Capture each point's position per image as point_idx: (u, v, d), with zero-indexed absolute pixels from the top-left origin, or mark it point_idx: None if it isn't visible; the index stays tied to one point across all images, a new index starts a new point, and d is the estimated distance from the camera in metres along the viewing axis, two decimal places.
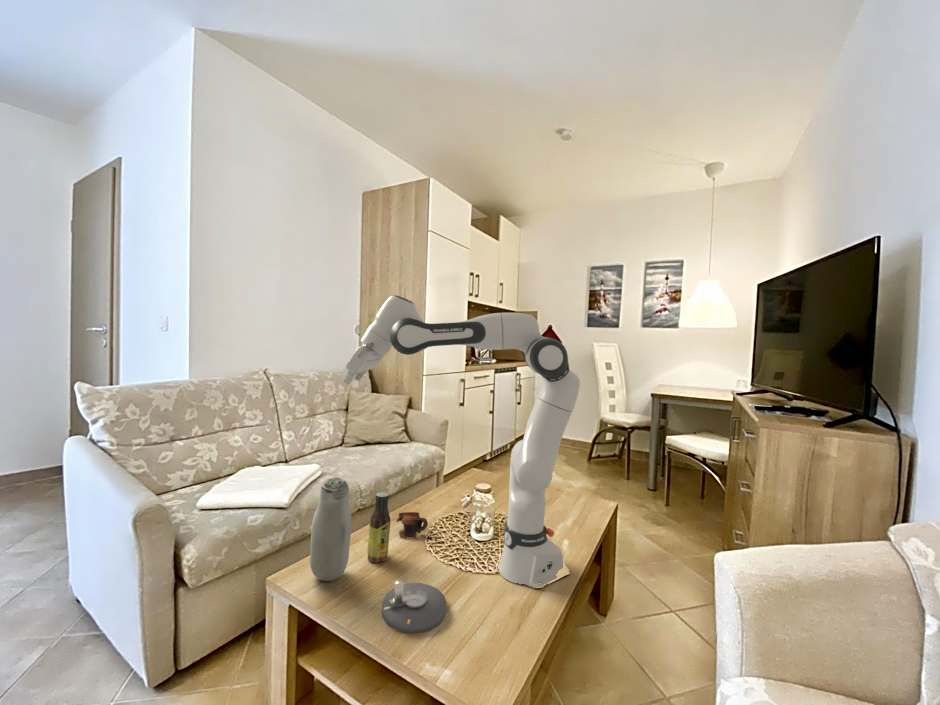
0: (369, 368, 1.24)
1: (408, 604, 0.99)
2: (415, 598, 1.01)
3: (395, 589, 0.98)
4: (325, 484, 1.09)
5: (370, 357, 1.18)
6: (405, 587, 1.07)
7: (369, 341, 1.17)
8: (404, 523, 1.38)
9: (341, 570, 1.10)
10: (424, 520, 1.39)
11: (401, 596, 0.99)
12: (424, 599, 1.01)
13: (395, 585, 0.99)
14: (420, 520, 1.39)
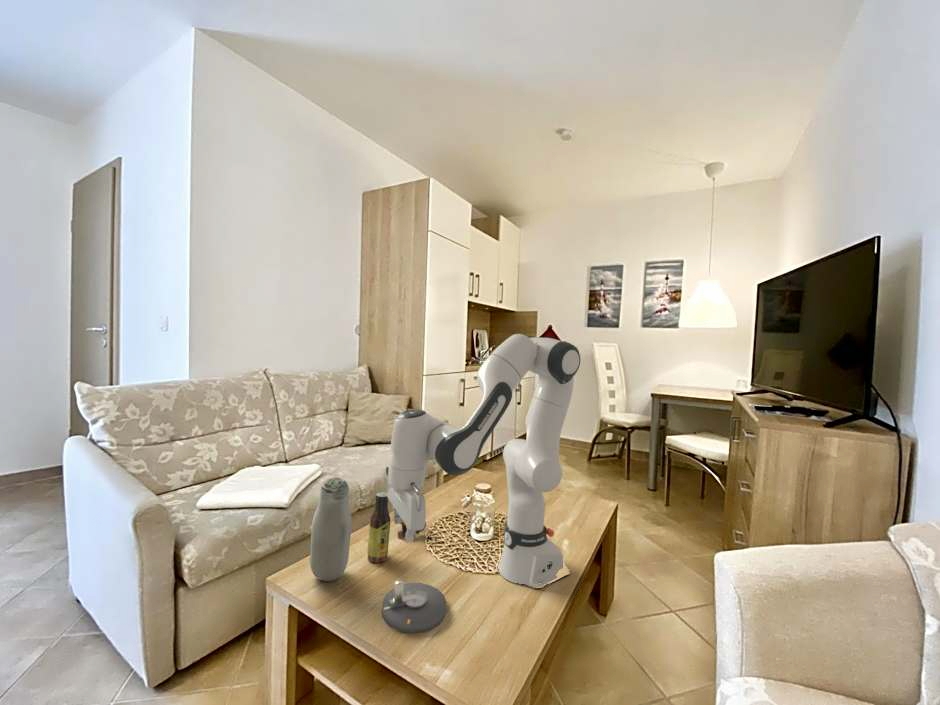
0: None
1: (408, 604, 0.99)
2: (415, 598, 1.01)
3: (395, 589, 0.98)
4: (325, 484, 1.09)
5: None
6: (405, 587, 1.07)
7: (408, 483, 0.94)
8: (402, 524, 1.37)
9: (341, 570, 1.10)
10: None
11: (401, 596, 0.99)
12: (424, 599, 1.01)
13: (395, 585, 0.99)
14: None
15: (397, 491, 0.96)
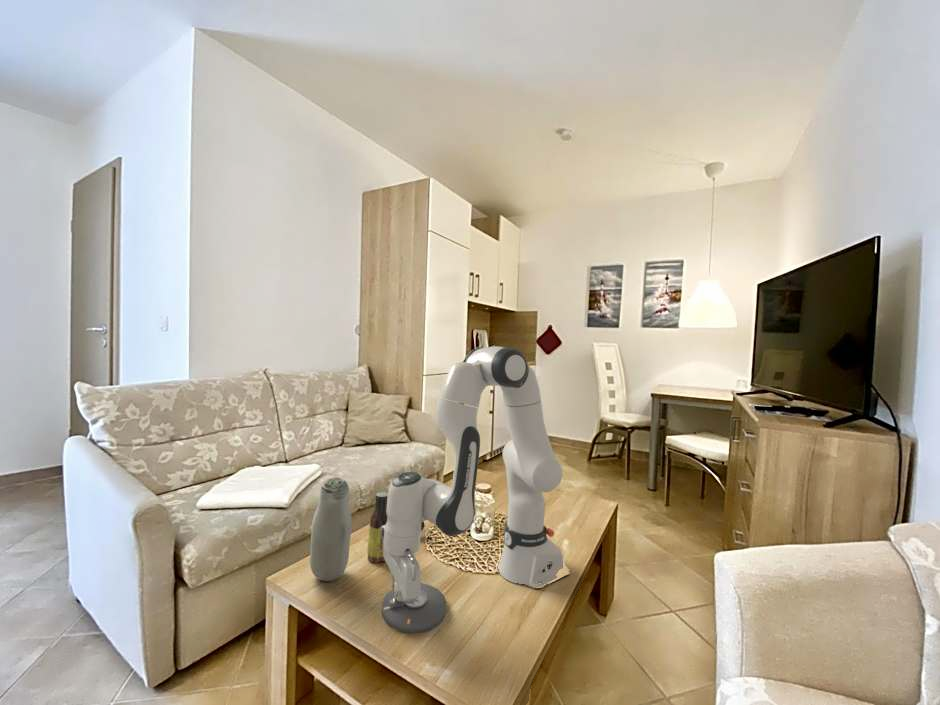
0: None
1: (408, 604, 0.99)
2: None
3: (395, 589, 0.98)
4: (325, 484, 1.09)
5: None
6: None
7: (403, 549, 0.95)
8: None
9: (341, 570, 1.10)
10: None
11: None
12: (424, 599, 1.01)
13: (395, 585, 0.99)
14: None
15: (392, 556, 0.96)
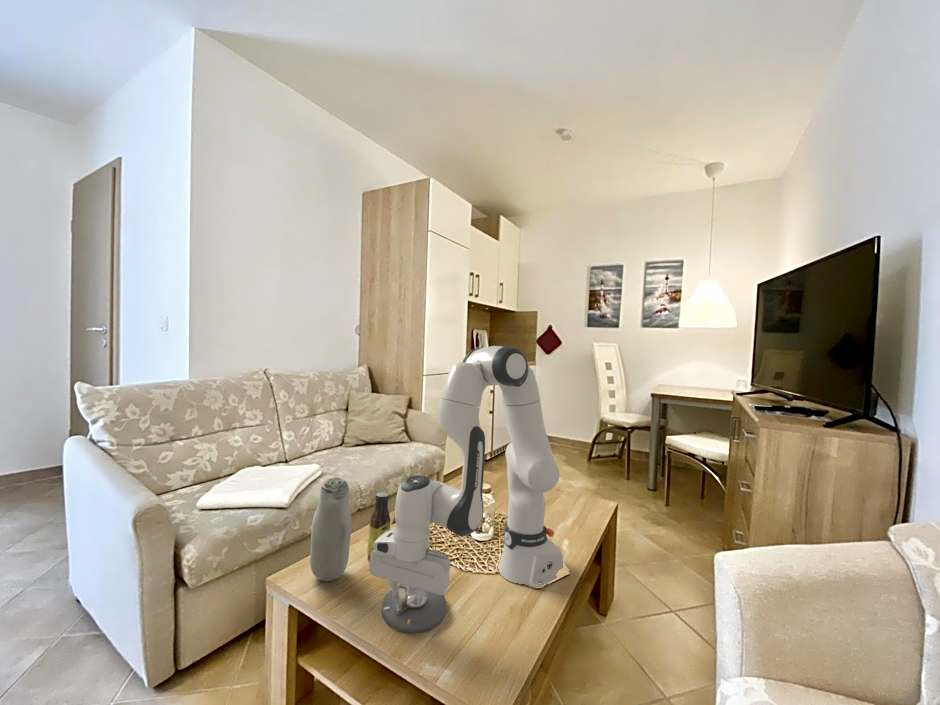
0: None
1: (413, 606, 0.99)
2: None
3: (401, 594, 0.97)
4: (325, 484, 1.09)
5: None
6: None
7: (425, 551, 0.95)
8: None
9: (341, 570, 1.10)
10: None
11: (407, 599, 0.98)
12: (425, 596, 1.02)
13: (401, 590, 0.97)
14: None
15: (411, 563, 0.94)
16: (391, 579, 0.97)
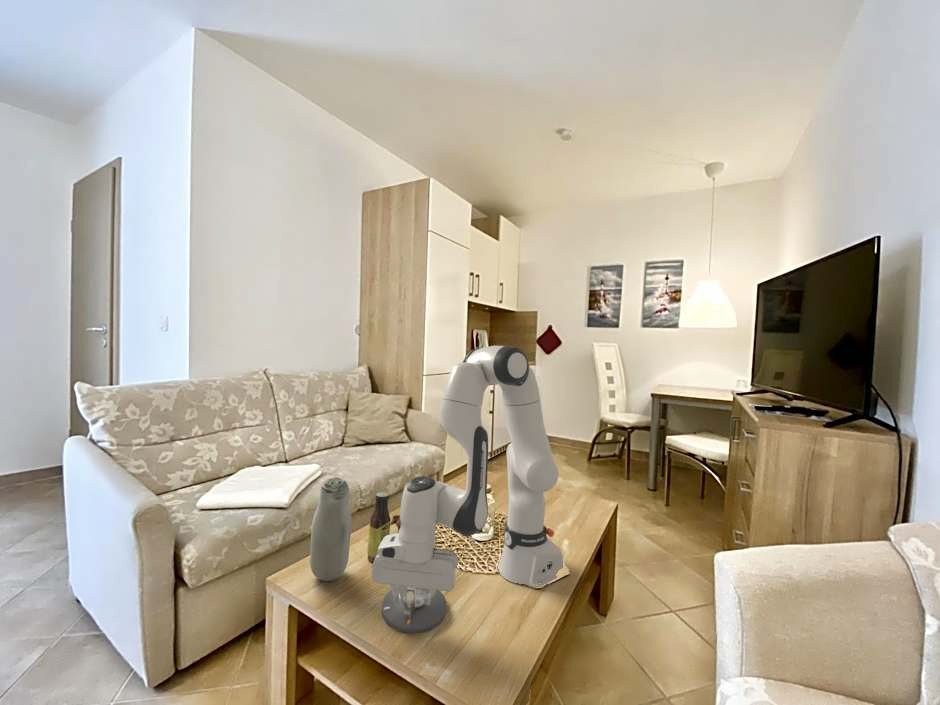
0: None
1: (419, 605, 0.99)
2: (417, 597, 1.01)
3: (411, 597, 0.96)
4: (325, 484, 1.09)
5: None
6: (405, 587, 1.07)
7: (433, 550, 0.95)
8: (398, 526, 1.35)
9: (341, 570, 1.10)
10: None
11: (414, 601, 0.97)
12: (424, 593, 1.03)
13: (411, 593, 0.96)
14: None
15: (419, 565, 0.94)
16: (396, 583, 0.95)
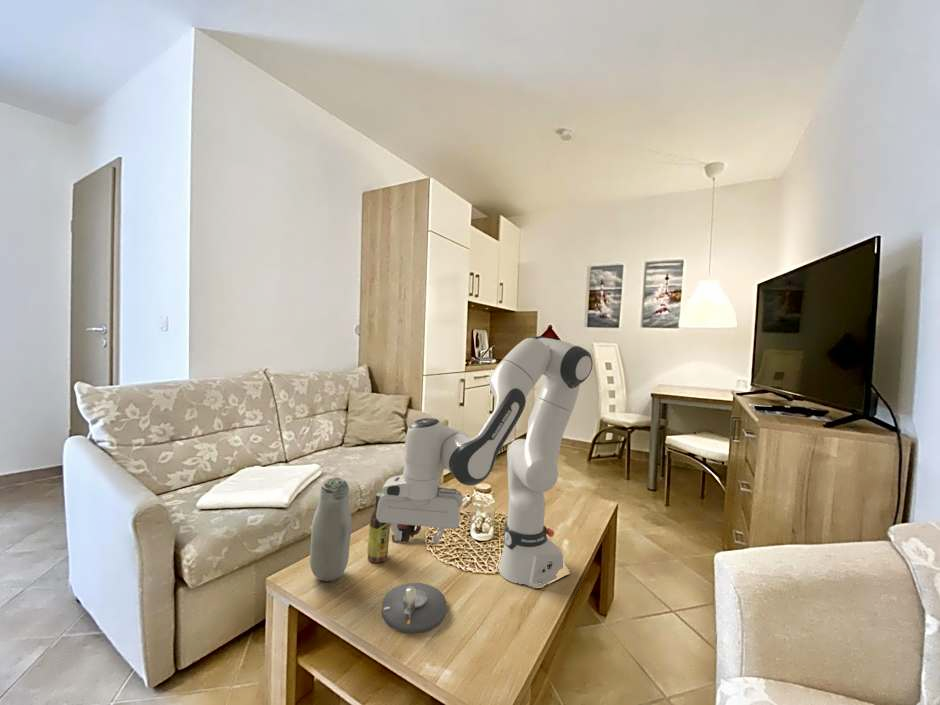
0: None
1: (419, 605, 0.99)
2: (417, 597, 1.01)
3: (411, 597, 0.96)
4: (325, 484, 1.09)
5: None
6: (405, 587, 1.07)
7: (437, 489, 0.96)
8: (397, 527, 1.34)
9: (341, 570, 1.10)
10: None
11: (414, 601, 0.97)
12: (424, 593, 1.03)
13: (411, 593, 0.96)
14: None
15: (424, 502, 0.95)
16: (401, 522, 0.96)
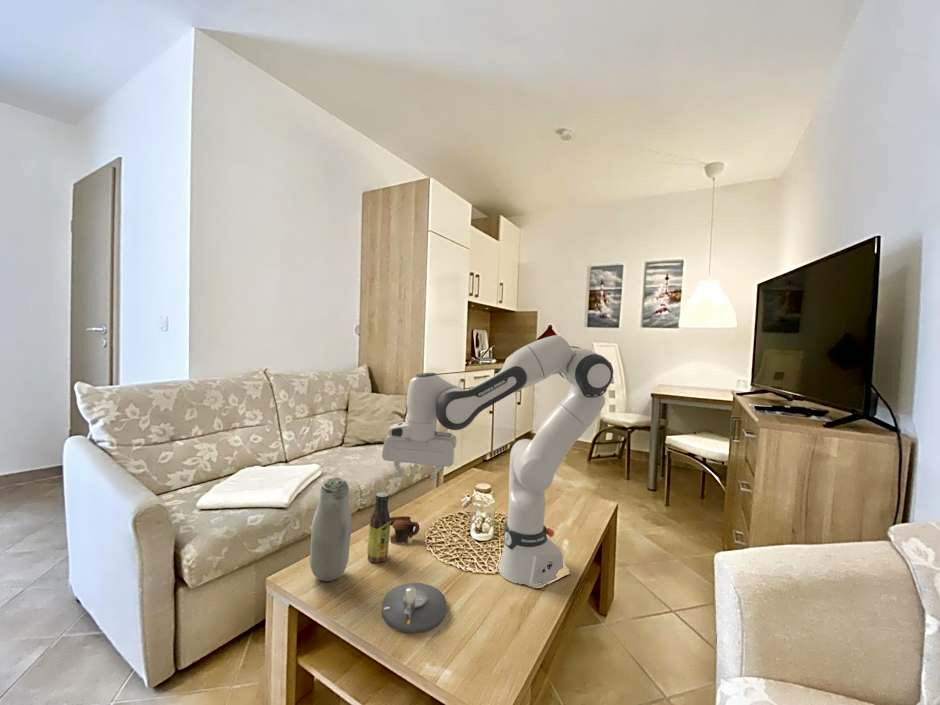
0: None
1: (419, 605, 0.99)
2: (417, 597, 1.01)
3: (411, 597, 0.96)
4: (325, 484, 1.09)
5: None
6: (405, 587, 1.07)
7: (434, 432, 1.12)
8: (395, 528, 1.34)
9: (341, 570, 1.10)
10: (416, 524, 1.35)
11: (414, 601, 0.97)
12: (424, 593, 1.03)
13: (411, 593, 0.96)
14: (412, 524, 1.36)
15: (423, 443, 1.10)
16: (403, 460, 1.12)
